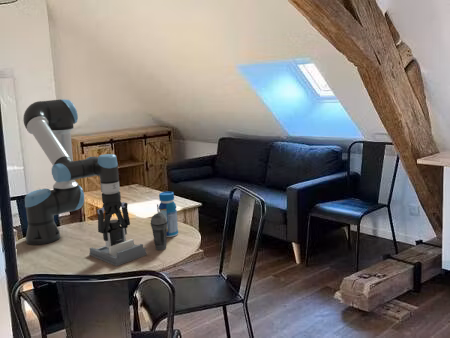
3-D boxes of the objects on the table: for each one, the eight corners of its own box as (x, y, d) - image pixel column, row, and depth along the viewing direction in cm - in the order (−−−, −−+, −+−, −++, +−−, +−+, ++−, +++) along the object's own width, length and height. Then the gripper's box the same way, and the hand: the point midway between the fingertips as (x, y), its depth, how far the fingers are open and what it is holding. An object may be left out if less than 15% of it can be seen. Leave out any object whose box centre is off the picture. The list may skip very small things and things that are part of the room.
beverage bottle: (177, 237, 223) (174, 195, 219) (159, 238, 223) (155, 195, 219) (179, 231, 231) (176, 190, 227) (162, 232, 232) (158, 191, 228)
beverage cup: (168, 244, 214) (165, 200, 210) (170, 250, 207) (166, 204, 203) (152, 246, 213) (148, 202, 209) (153, 252, 206) (149, 206, 202)
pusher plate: (109, 257, 199) (108, 246, 198) (132, 249, 207) (131, 239, 206) (111, 258, 198) (110, 247, 197) (134, 250, 206) (133, 239, 205)
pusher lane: (89, 255, 207) (88, 243, 206) (119, 244, 217) (118, 234, 216) (116, 266, 193) (115, 254, 192) (146, 254, 203) (145, 243, 202)
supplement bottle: (121, 251, 201) (118, 224, 198) (105, 251, 202) (102, 223, 200) (127, 245, 207) (124, 218, 205) (112, 245, 209) (109, 218, 206)
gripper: (94, 198, 190) (100, 254, 195) (135, 188, 204) (140, 240, 209) (84, 195, 196) (90, 250, 200) (125, 186, 209) (130, 236, 214)
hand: (116, 244), depth 204 cm, fingers closed on supplement bottle, 7 cm apart
